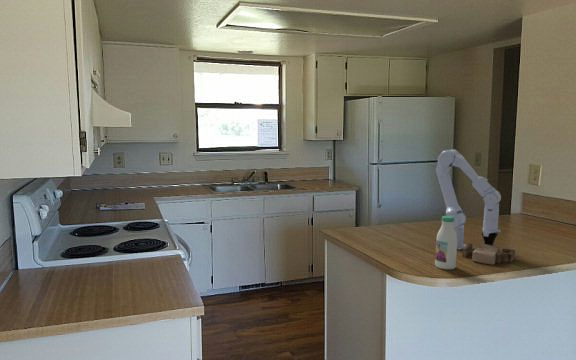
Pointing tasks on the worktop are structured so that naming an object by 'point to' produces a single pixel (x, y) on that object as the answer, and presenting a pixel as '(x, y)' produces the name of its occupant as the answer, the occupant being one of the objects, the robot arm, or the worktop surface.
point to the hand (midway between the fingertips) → (488, 249)
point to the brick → (486, 254)
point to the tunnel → (503, 256)
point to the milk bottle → (446, 244)
